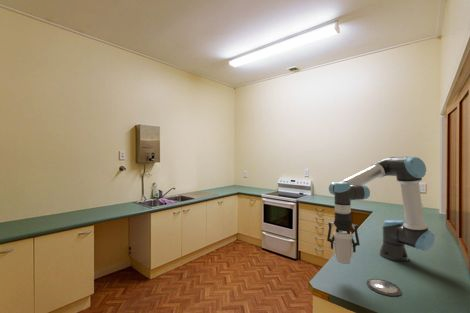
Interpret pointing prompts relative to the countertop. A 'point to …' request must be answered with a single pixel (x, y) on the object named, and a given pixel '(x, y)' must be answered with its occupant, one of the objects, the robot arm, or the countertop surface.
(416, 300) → the countertop surface
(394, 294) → the plate
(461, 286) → the countertop surface
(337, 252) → the coffee cup
